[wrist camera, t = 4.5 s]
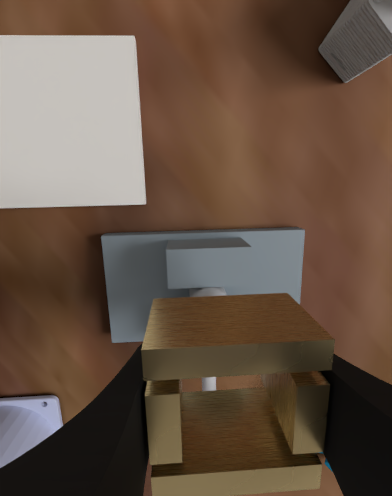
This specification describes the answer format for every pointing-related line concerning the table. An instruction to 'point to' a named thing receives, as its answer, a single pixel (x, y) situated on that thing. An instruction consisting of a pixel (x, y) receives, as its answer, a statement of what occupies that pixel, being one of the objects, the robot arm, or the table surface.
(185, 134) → the table surface
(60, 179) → the mat
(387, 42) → the padlock
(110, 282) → the vise
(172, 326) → the sleeve
